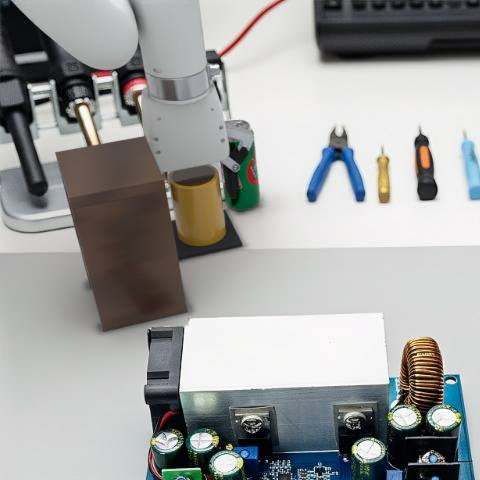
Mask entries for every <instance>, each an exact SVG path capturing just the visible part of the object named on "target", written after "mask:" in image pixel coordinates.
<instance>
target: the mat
mask: <svg viewBox="0 0 480 480" xmlns="http://www.w3.org/2000/svg"><path fill="white" fill-rule="evenodd" d="M223 210H224V217H225V225H226V234H225V236H224V237H223V238H222V239H221V240H220V241H218V242H216V243H214V244H211V245H207V246H191V245H187V244H185V243H183V242H182V241H181V240H180V239H179V238H178V234H177V228H176V222H175V219H171V221H172V226H173V232H174V238H175V243H176V249H177V255H178V260H179V261H181V260H186V259H192V258H195V257H199V256H200V257H201V256H205V255H209V254H214V253H218V252H223V251H227V250H233V249H237V248H240V247H243V242H242V240H241V238H240V236H239V234H238V232H237V230H236V228H235V227H234V224H233V222H232V221H231V218H230V217H229V214H228V213H227V211H226V209H223Z"/></svg>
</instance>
